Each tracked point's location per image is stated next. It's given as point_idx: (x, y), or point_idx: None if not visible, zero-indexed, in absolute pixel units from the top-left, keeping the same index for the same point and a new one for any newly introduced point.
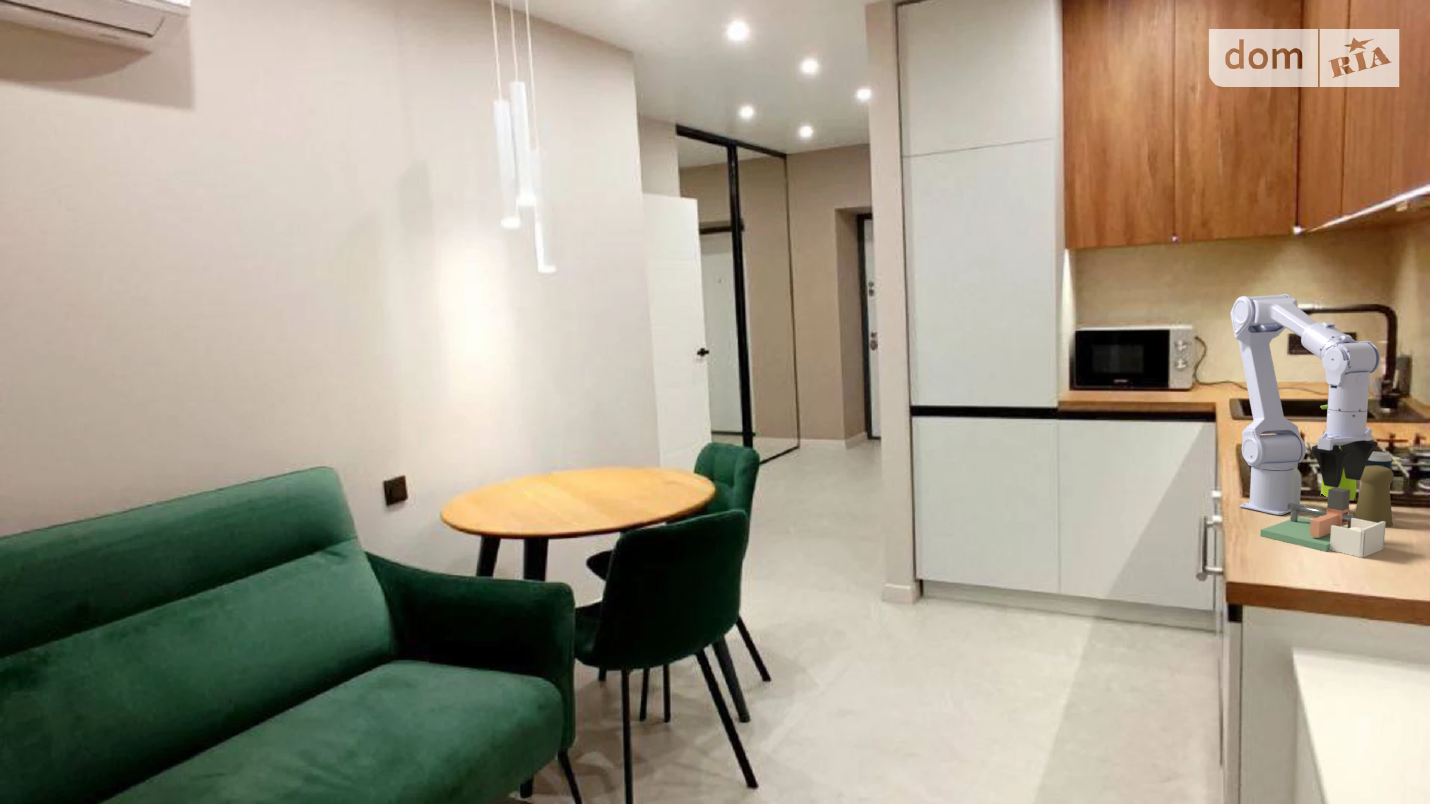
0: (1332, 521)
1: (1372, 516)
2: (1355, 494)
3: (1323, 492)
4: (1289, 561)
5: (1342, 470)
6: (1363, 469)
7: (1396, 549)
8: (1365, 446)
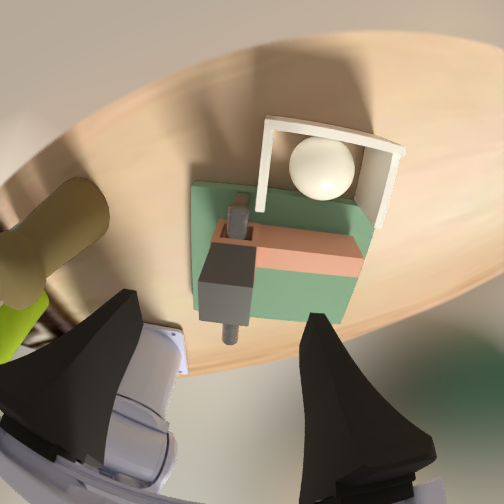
0: (290, 243)
1: (92, 210)
2: None
3: (43, 310)
4: (458, 234)
5: (336, 370)
6: (99, 314)
7: (243, 94)
8: (51, 418)
